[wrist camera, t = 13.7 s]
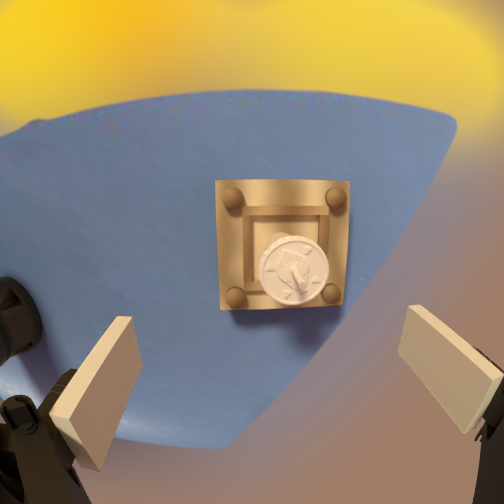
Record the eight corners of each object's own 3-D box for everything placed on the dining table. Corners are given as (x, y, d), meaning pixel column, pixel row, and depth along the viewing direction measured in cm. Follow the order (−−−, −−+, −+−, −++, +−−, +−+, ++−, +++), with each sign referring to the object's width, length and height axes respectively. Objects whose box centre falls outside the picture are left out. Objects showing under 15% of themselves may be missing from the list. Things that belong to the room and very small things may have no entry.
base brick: (222, 294, 42) (219, 314, 36) (218, 180, 38) (214, 180, 32) (331, 291, 42) (345, 308, 36) (337, 180, 38) (353, 181, 32)
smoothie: (294, 212, 34) (329, 234, 20) (314, 259, 35) (355, 307, 22) (244, 235, 34) (247, 273, 21) (267, 281, 36) (282, 341, 22)
